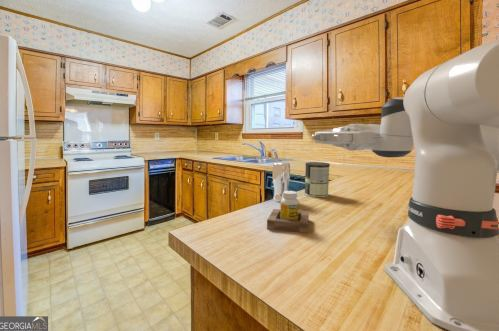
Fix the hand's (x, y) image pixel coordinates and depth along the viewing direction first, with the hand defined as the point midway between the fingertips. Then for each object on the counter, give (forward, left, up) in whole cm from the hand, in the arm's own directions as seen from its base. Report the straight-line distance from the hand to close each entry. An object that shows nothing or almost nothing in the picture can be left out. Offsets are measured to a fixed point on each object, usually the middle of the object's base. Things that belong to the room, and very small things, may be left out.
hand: (324, 137), depth 76 cm
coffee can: (+32, +1, -26) cm, 41 cm away
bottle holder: (-9, +9, -25) cm, 28 cm away
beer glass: (+18, +15, -26) cm, 35 cm away
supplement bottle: (-8, +9, -26) cm, 28 cm away
